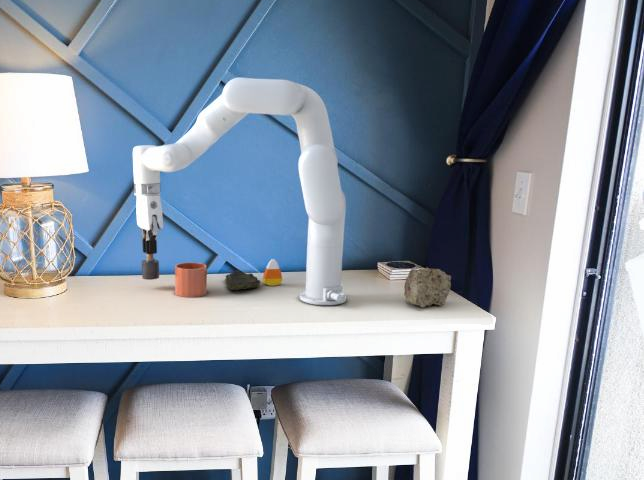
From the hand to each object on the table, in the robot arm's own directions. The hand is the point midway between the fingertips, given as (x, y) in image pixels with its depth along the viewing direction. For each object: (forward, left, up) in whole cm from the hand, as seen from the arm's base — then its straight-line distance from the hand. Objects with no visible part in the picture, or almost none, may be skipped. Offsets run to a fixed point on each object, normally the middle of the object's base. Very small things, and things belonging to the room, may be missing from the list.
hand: (149, 252), depth 186 cm
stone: (-9, -26, -11) cm, 29 cm away
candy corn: (-12, -35, -11) cm, 38 cm away
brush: (0, 0, -8) cm, 8 cm away
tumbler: (-10, -9, -11) cm, 17 cm away
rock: (-48, -62, -11) cm, 79 cm away
